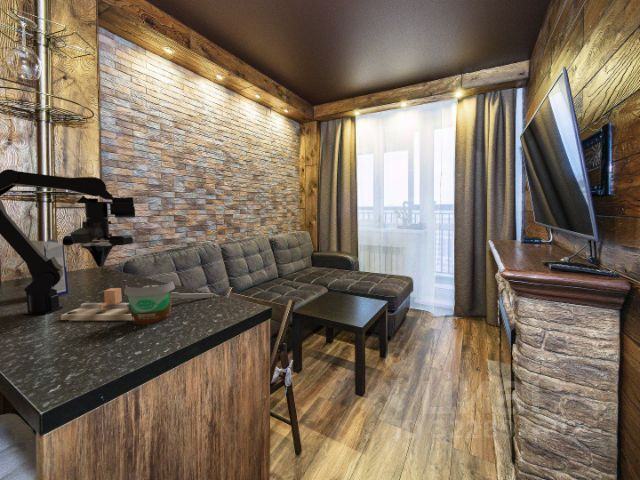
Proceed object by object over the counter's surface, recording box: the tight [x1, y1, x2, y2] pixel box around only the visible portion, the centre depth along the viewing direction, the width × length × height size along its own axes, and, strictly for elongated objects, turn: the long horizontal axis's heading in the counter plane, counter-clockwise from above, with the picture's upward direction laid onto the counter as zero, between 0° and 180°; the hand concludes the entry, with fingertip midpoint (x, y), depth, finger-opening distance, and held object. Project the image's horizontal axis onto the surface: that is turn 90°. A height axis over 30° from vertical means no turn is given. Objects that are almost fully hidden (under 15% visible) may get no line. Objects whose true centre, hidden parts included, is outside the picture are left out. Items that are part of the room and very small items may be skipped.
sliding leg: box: [99, 287, 123, 311], centre depth 87 cm, size 3×7×5 cm, turn 1°
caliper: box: [171, 291, 219, 302], centre depth 99 cm, size 20×1×6 cm, turn 137°
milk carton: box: [30, 238, 69, 297], centre depth 106 cm, size 7×7×20 cm
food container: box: [123, 280, 176, 325], centre depth 81 cm, size 12×6×10 cm, turn 117°
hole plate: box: [60, 302, 132, 321], centre depth 87 cm, size 19×11×6 cm, turn 91°
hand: (100, 266), depth 96 cm, fingers closed
